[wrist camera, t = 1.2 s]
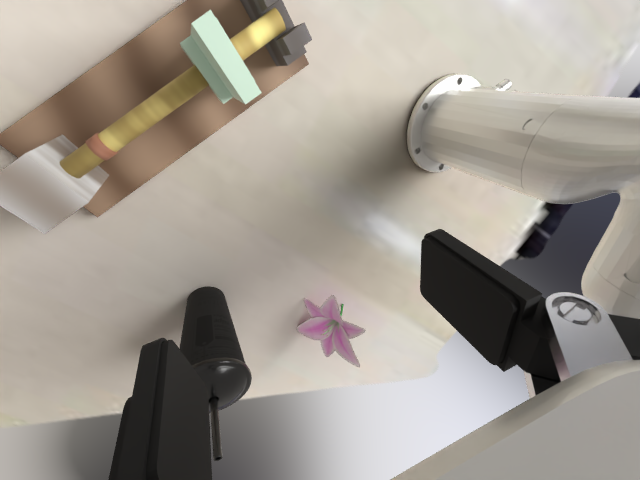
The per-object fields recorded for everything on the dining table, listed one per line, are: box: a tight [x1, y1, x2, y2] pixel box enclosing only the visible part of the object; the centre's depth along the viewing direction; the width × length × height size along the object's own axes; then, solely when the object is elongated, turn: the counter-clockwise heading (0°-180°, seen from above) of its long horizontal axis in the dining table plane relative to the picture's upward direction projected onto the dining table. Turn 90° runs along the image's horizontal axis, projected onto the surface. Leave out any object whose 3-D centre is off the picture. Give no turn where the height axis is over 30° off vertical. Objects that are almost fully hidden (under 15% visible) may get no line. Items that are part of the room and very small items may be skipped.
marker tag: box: [180, 10, 262, 105], centre depth 20 cm, size 3×4×10 cm
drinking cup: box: [180, 287, 252, 461], centre depth 31 cm, size 8×8×20 cm
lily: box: [297, 295, 365, 367], centre depth 46 cm, size 12×12×10 cm
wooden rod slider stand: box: [0, 0, 312, 234], centre depth 24 cm, size 26×9×8 cm, turn 120°
